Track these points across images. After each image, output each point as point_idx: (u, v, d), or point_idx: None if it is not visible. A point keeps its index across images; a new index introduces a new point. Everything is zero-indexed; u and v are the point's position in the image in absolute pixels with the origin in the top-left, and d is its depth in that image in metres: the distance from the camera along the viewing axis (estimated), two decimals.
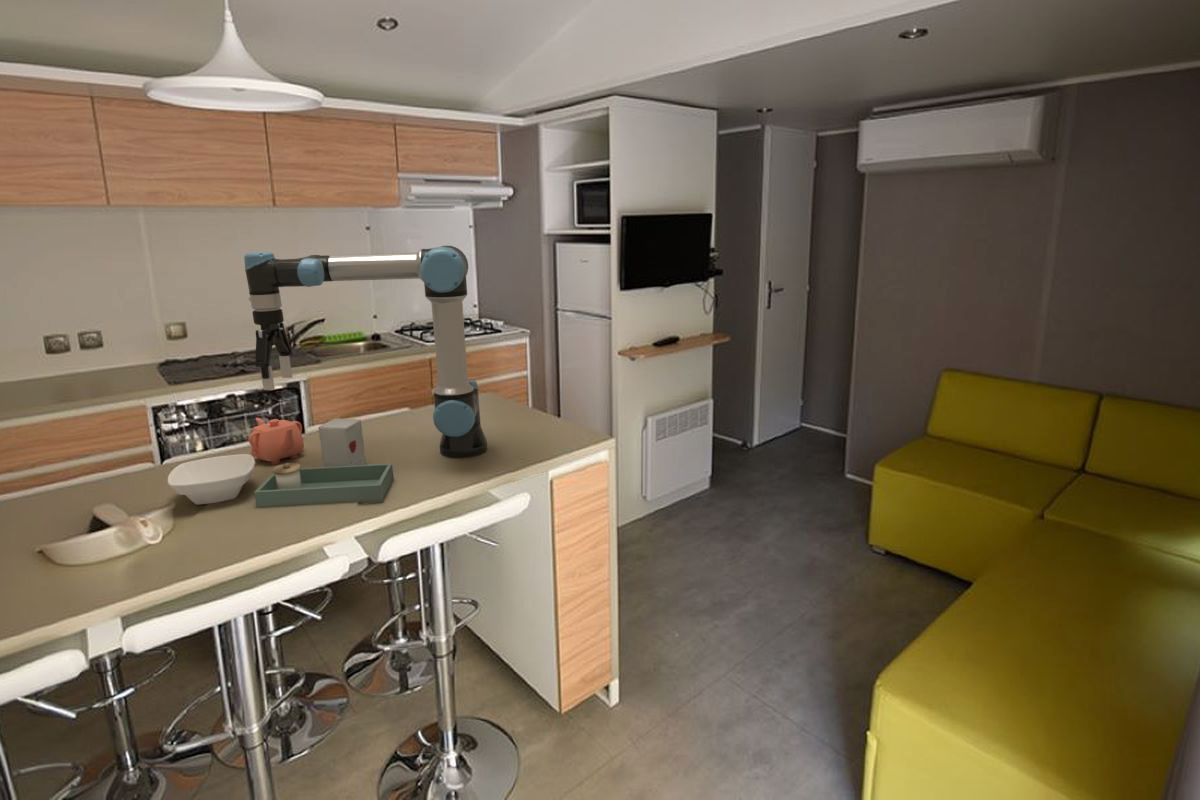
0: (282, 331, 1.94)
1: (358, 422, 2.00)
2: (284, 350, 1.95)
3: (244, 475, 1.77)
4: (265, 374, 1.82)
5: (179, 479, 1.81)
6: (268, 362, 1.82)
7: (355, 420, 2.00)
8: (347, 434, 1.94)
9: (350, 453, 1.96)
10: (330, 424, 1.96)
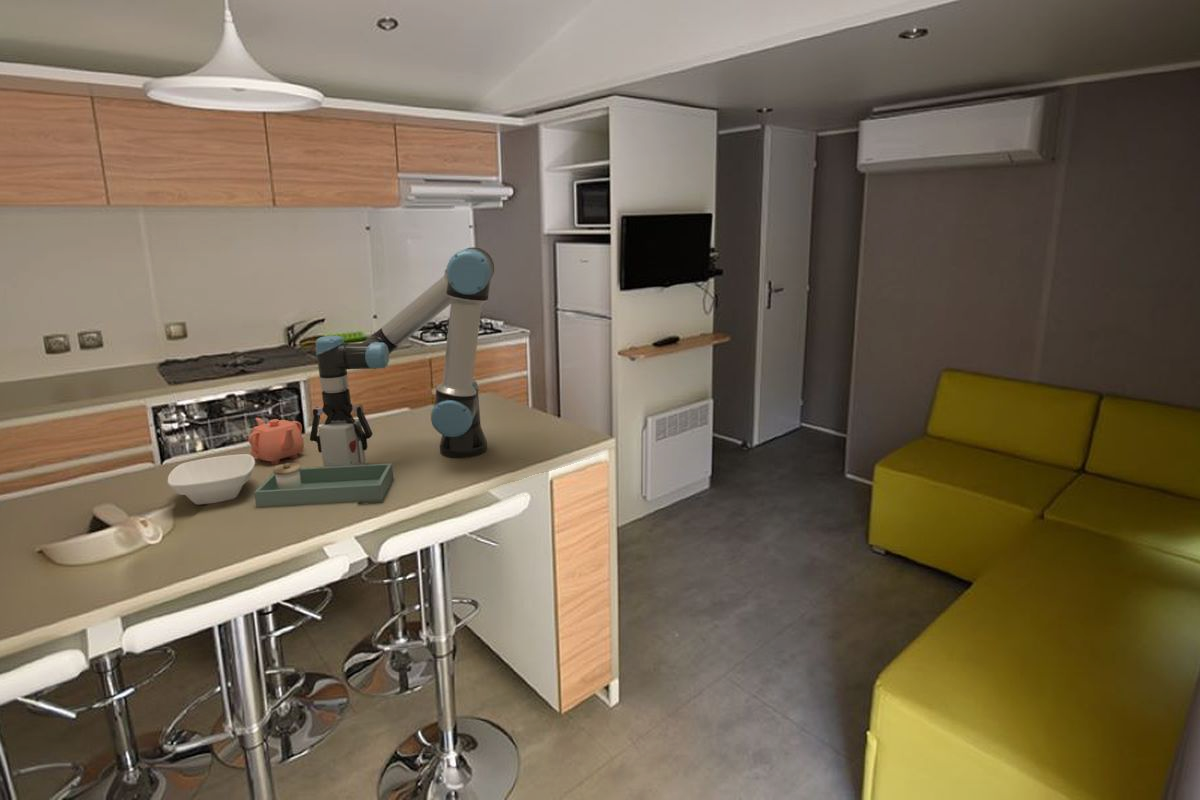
0: None
1: (358, 422, 2.00)
2: None
3: (244, 475, 1.77)
4: None
5: (179, 479, 1.81)
6: (319, 439, 1.97)
7: (355, 420, 2.00)
8: (347, 434, 1.94)
9: (350, 453, 1.96)
10: (330, 424, 1.96)
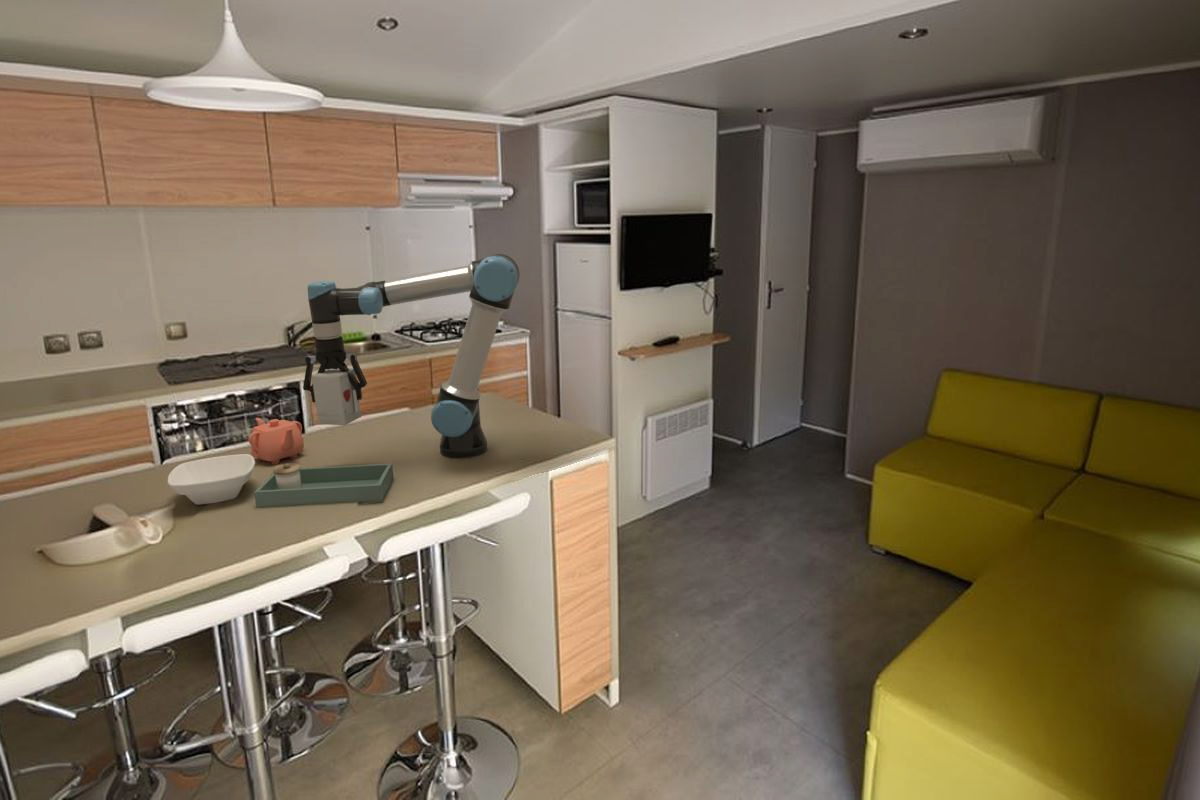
0: None
1: (352, 371, 1.96)
2: None
3: (244, 475, 1.77)
4: None
5: (179, 479, 1.81)
6: (312, 388, 1.93)
7: (349, 369, 1.96)
8: (341, 382, 1.90)
9: (344, 401, 1.92)
10: (324, 372, 1.92)
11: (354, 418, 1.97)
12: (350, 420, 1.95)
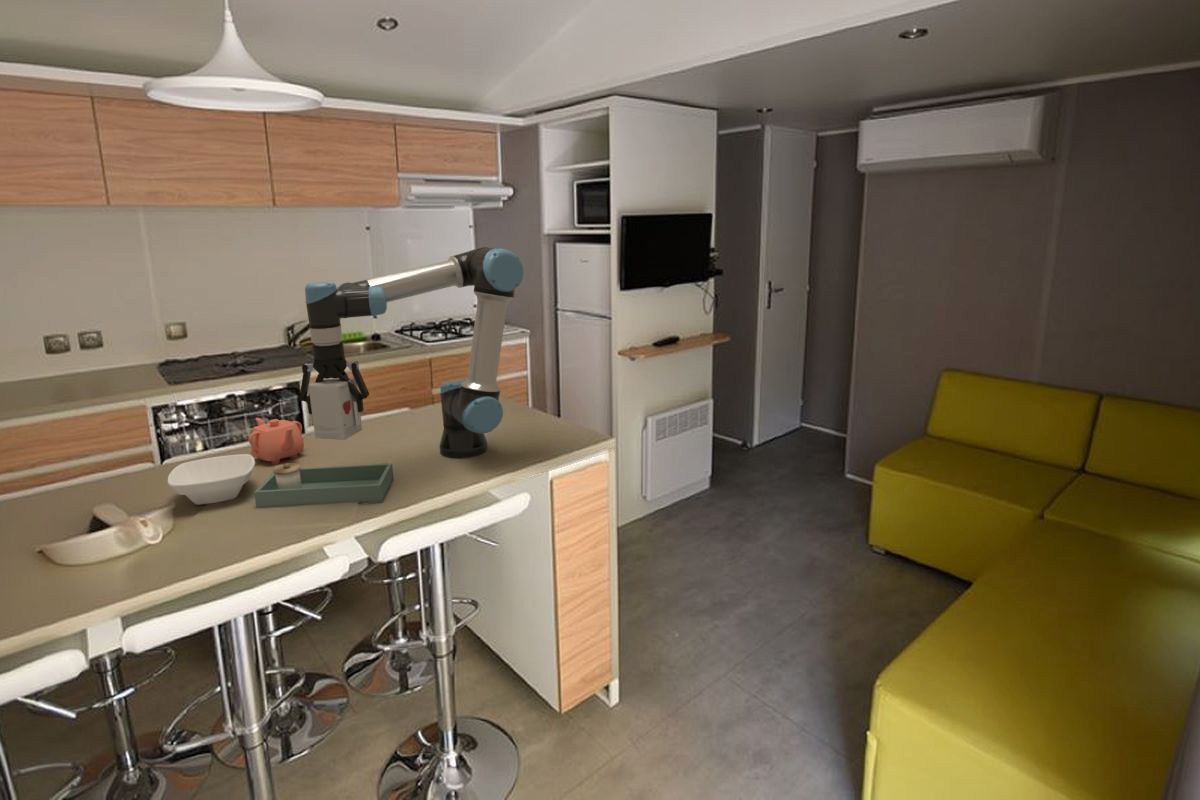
0: (352, 372, 1.76)
1: (353, 380, 1.79)
2: None
3: (244, 475, 1.77)
4: None
5: (179, 479, 1.81)
6: (309, 398, 1.76)
7: (350, 378, 1.79)
8: (341, 392, 1.73)
9: (344, 414, 1.75)
10: (322, 382, 1.75)
11: (354, 432, 1.80)
12: (350, 434, 1.78)
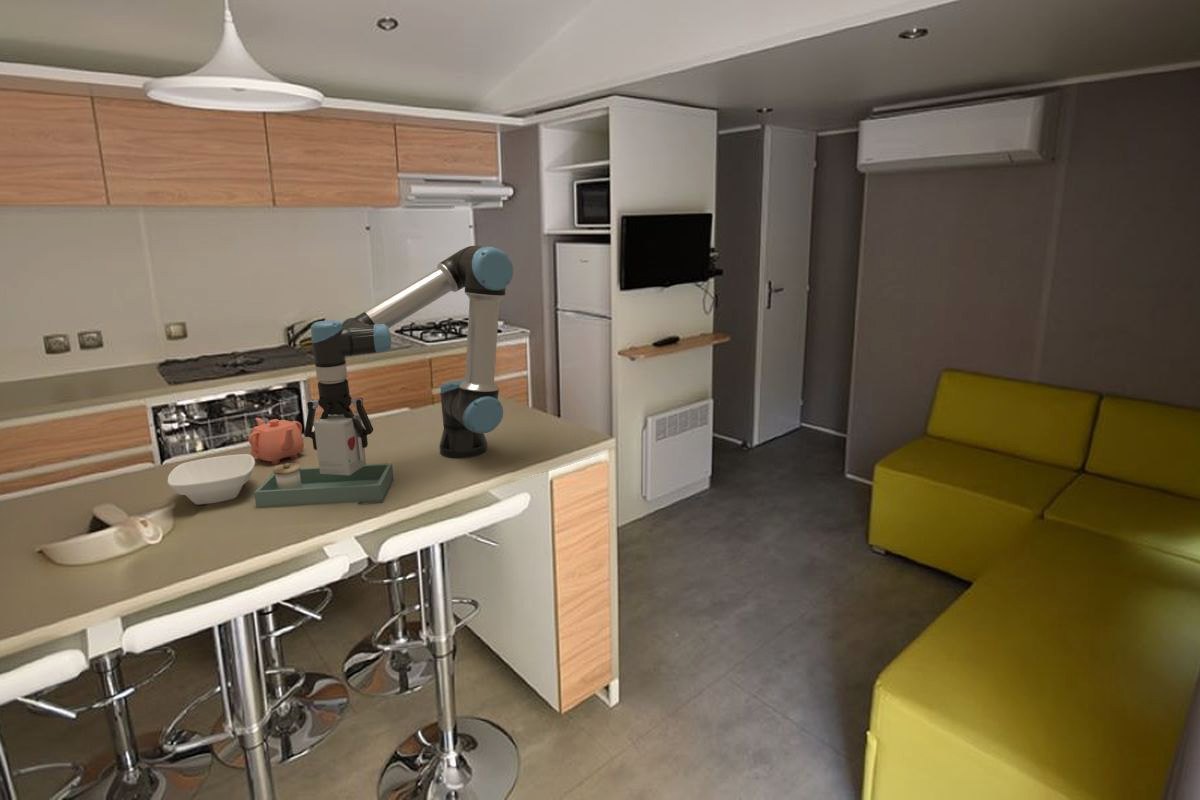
0: (357, 408, 1.78)
1: (357, 416, 1.81)
2: None
3: (244, 475, 1.77)
4: None
5: (179, 479, 1.81)
6: (314, 435, 1.79)
7: (354, 414, 1.81)
8: (346, 429, 1.76)
9: (348, 450, 1.77)
10: (327, 418, 1.78)
11: (359, 467, 1.83)
12: (354, 469, 1.80)
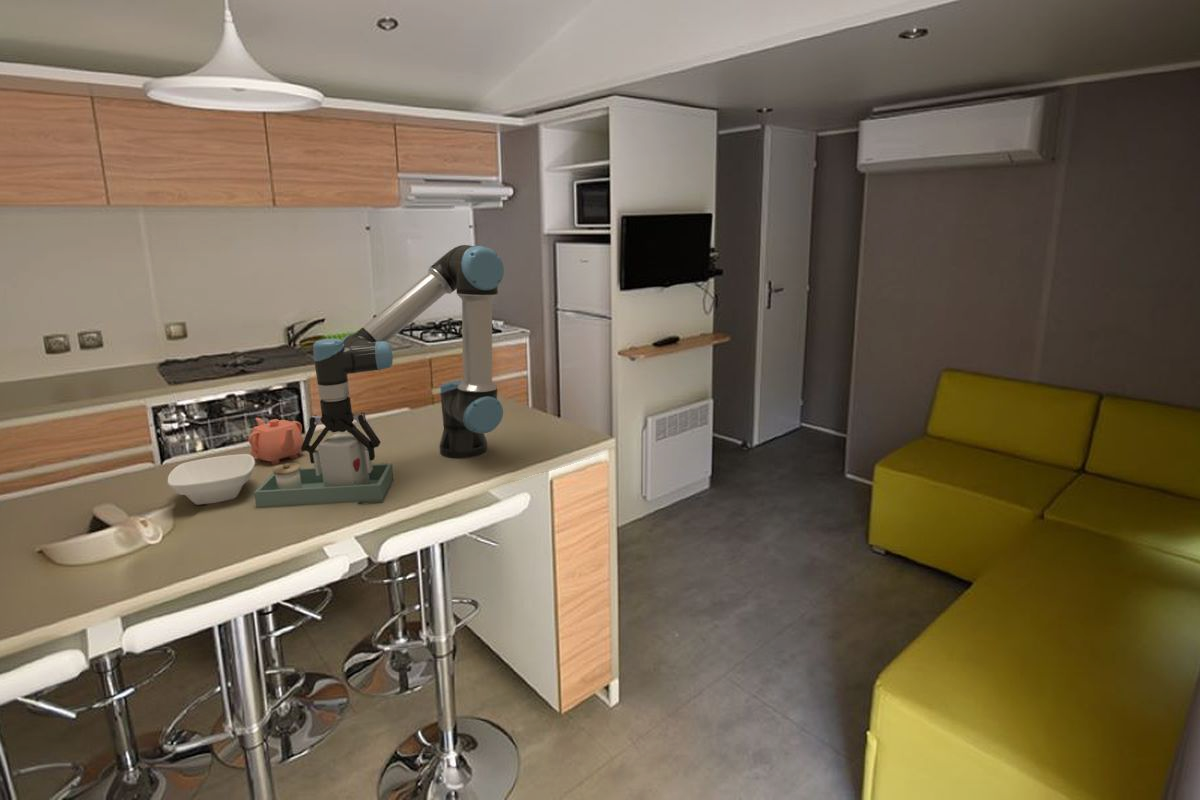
0: (360, 424, 1.79)
1: None
2: None
3: (244, 475, 1.77)
4: None
5: (179, 479, 1.81)
6: (311, 448, 1.79)
7: None
8: (351, 451, 1.78)
9: (354, 472, 1.79)
10: (331, 441, 1.79)
11: None
12: None
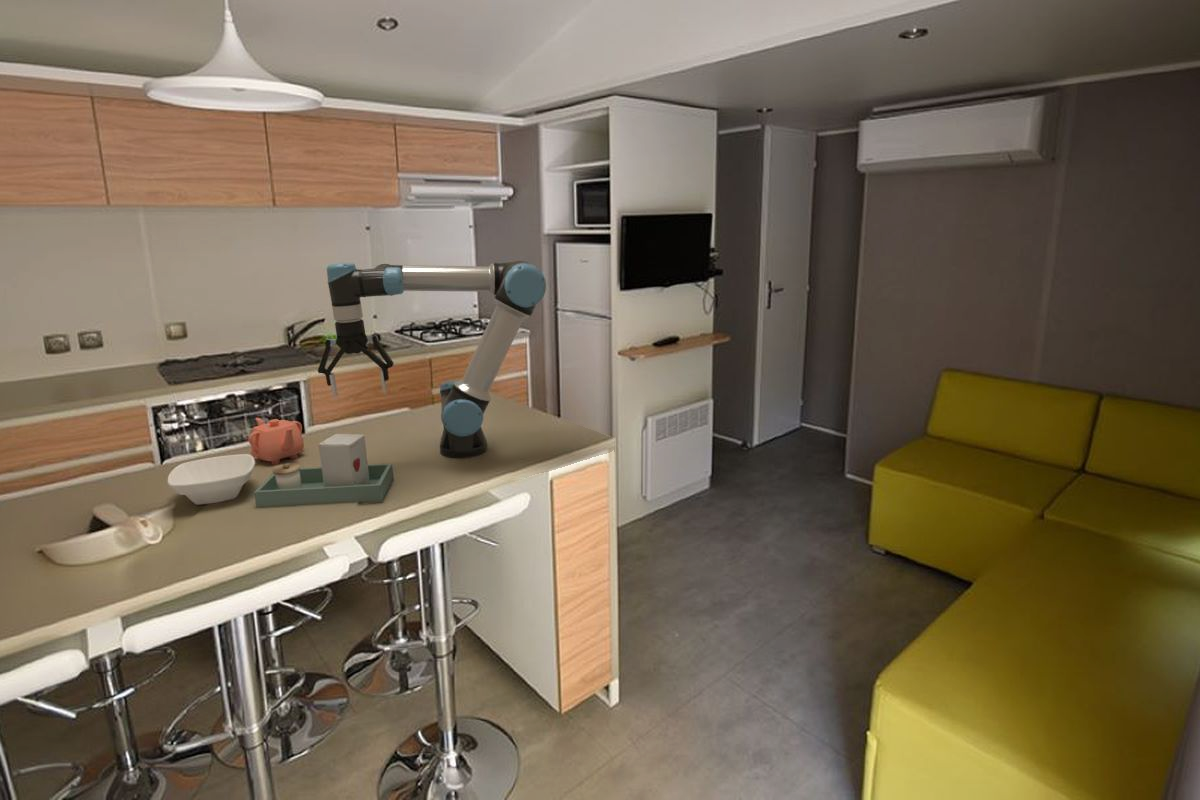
0: (374, 345, 1.87)
1: (362, 438, 1.83)
2: None
3: (244, 475, 1.77)
4: None
5: (179, 479, 1.81)
6: (327, 370, 1.87)
7: (358, 436, 1.83)
8: (351, 451, 1.78)
9: (354, 472, 1.79)
10: (331, 441, 1.79)
11: None
12: None
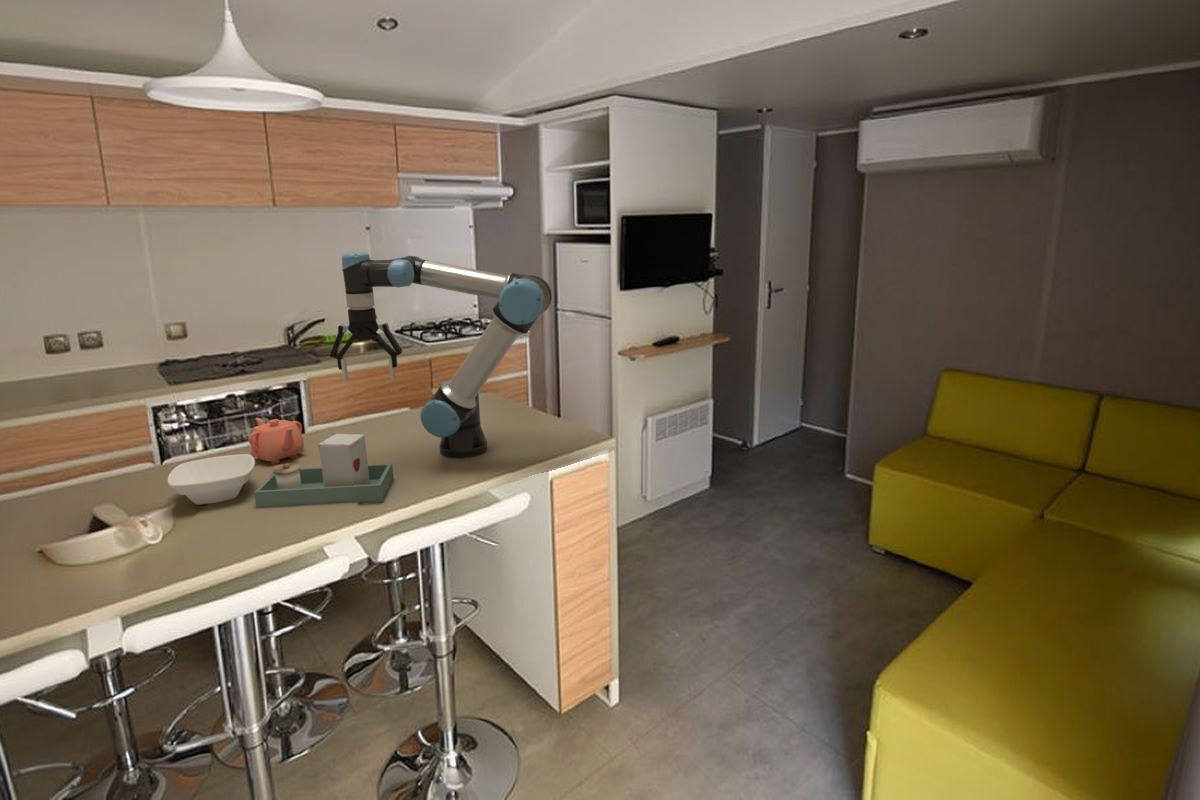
0: (384, 332, 1.95)
1: (362, 438, 1.83)
2: None
3: (244, 475, 1.77)
4: None
5: (179, 479, 1.81)
6: (339, 355, 1.95)
7: (358, 436, 1.83)
8: (351, 451, 1.78)
9: (354, 472, 1.79)
10: (331, 441, 1.79)
11: None
12: None
